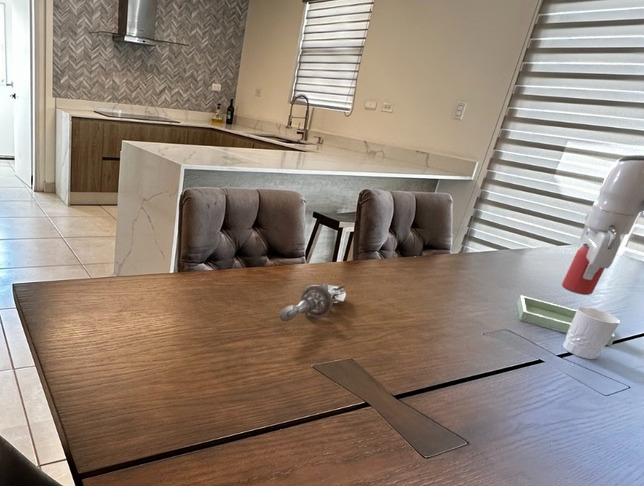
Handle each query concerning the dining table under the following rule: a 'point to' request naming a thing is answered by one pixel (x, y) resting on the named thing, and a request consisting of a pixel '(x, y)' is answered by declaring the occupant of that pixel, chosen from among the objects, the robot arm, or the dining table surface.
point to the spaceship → (315, 301)
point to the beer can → (581, 274)
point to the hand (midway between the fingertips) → (583, 274)
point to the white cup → (589, 332)
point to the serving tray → (547, 315)
